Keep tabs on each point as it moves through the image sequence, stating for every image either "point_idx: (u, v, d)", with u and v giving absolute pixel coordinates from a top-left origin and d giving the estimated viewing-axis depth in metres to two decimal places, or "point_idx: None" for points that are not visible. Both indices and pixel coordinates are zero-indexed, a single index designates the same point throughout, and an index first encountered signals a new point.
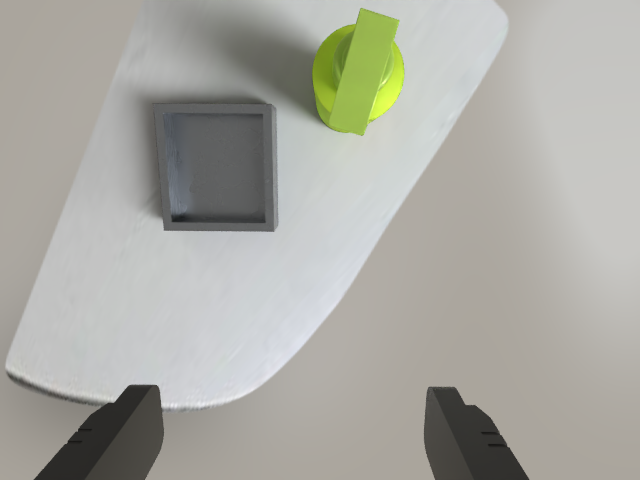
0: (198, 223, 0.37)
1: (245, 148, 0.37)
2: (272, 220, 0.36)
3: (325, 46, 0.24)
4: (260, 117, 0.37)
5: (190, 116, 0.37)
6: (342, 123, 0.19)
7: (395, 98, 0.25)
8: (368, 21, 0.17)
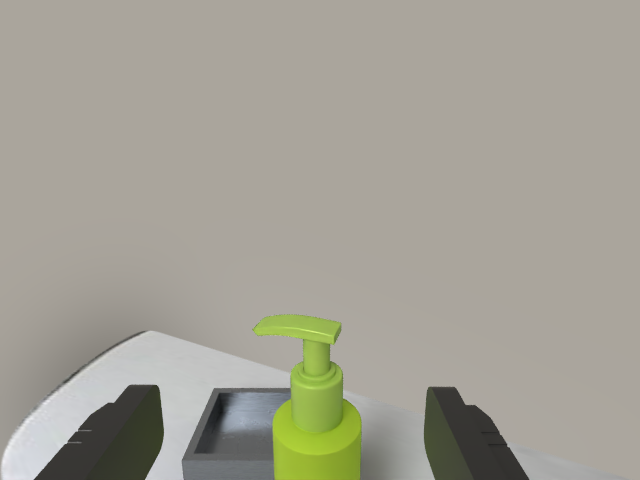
0: (212, 407, 0.41)
1: None
2: (194, 459, 0.34)
3: None
4: None
5: None
6: (263, 320, 0.25)
7: (292, 447, 0.23)
8: (332, 324, 0.24)
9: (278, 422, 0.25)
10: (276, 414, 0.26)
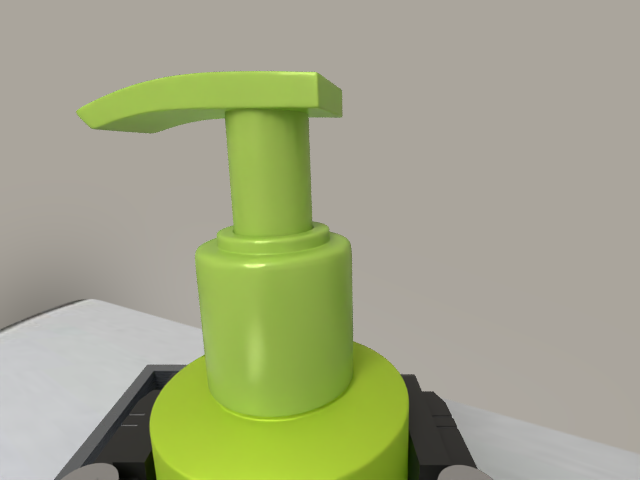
0: (135, 393, 0.25)
1: None
2: None
3: None
4: None
5: None
6: None
7: (187, 469, 0.07)
8: None
9: (171, 395, 0.09)
10: (175, 377, 0.10)
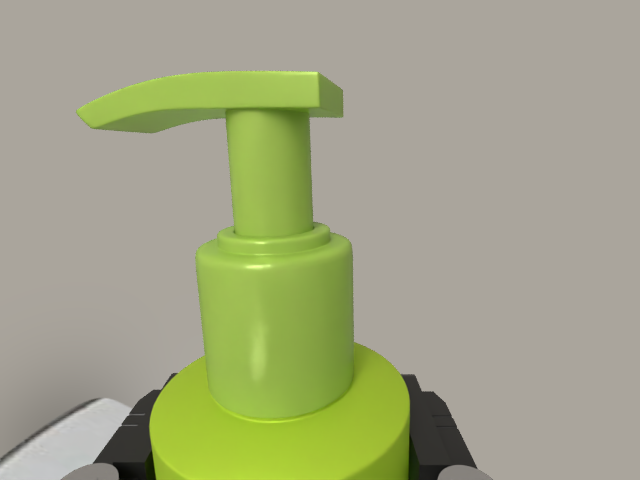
0: None
1: None
2: None
3: None
4: None
5: None
6: None
7: (187, 471, 0.07)
8: None
9: (171, 396, 0.09)
10: (175, 378, 0.10)
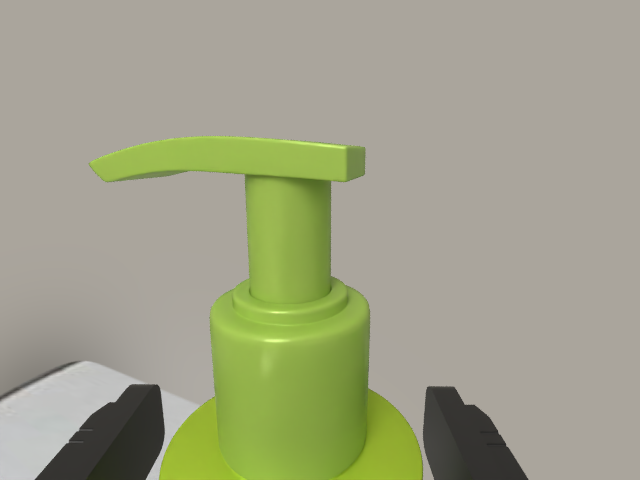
0: None
1: None
2: None
3: None
4: None
5: None
6: None
7: None
8: (338, 145, 0.08)
9: (180, 451, 0.09)
10: (183, 427, 0.09)
